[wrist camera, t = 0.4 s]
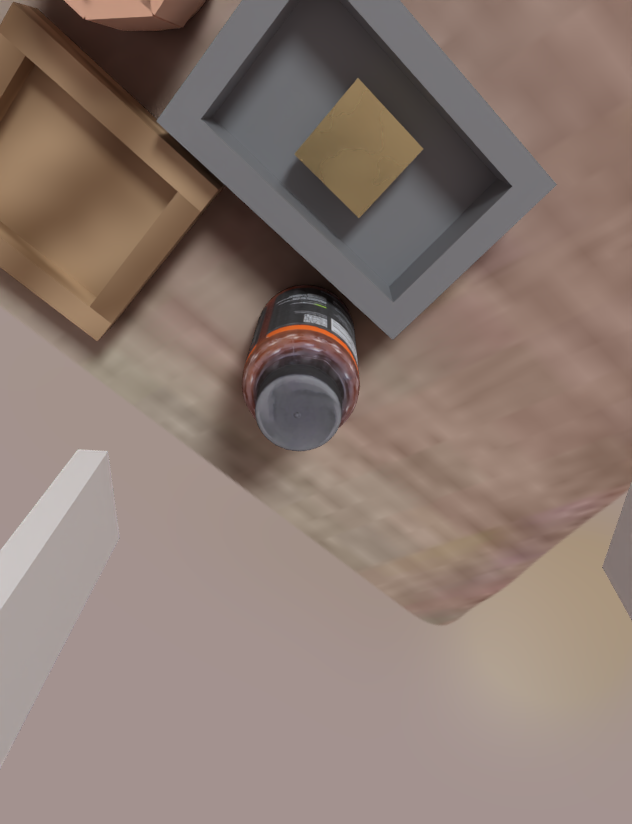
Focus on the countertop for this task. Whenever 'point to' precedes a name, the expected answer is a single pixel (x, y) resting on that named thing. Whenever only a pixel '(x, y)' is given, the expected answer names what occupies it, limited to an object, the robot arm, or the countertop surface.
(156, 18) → the empty cup
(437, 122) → the tray
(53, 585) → the robot arm
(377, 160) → the pad
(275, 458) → the countertop surface
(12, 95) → the square wooden tray
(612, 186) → the countertop surface
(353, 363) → the supplement bottle
